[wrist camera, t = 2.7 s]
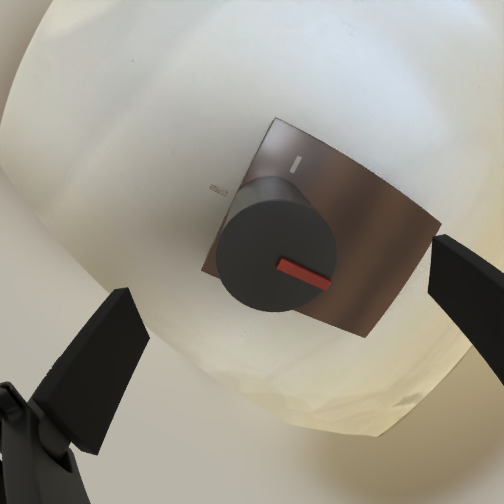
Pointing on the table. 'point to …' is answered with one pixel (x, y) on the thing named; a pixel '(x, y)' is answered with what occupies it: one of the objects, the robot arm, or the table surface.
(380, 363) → the table surface
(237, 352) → the table surface
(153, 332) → the table surface
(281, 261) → the black knob
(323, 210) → the wood base dial
